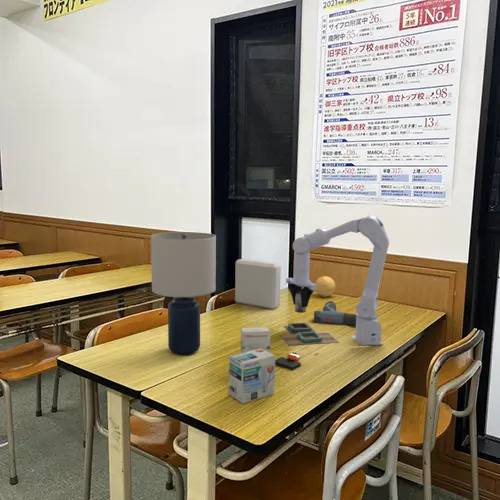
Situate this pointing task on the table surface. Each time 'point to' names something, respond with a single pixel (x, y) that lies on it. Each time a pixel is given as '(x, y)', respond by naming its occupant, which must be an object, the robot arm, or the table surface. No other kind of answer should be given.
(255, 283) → the bevelled white case
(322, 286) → the stress ball
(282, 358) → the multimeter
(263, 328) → the ink box
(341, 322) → the power drill
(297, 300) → the peg
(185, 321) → the lamp
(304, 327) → the socket block
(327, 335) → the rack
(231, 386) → the light bulb box
